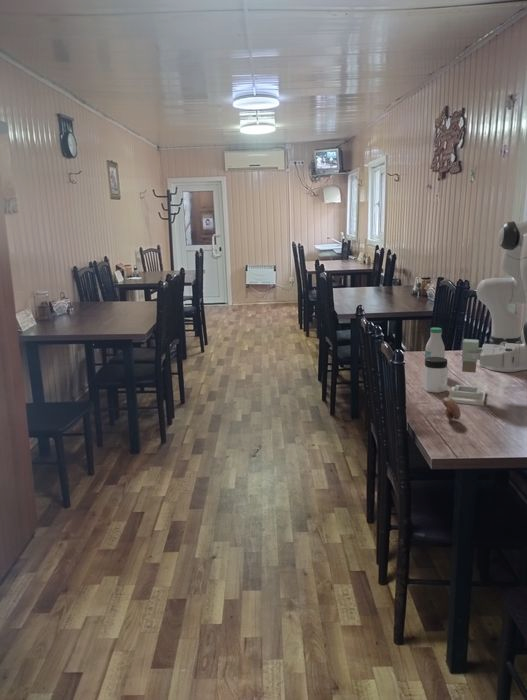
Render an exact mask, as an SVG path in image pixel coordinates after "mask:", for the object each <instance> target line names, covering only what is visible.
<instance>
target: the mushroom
mask: <svg viewBox="0 0 527 700" xmlns="http://www.w3.org/2000/svg"><path fill="white" fill-rule="evenodd" d="M441 402H442V404H443V406H444V407H445V416H446V418H447V419H448V421H449V422H451V421H453V420H459V419H460V418H461V410H460V406H459V405H458V403H456V402H455V401H454V400H453V399H452V398H449V397H448V396H445V397H443V398H442V400H441Z"/></svg>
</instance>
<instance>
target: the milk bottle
mask: <svg viewBox="0 0 527 700" xmlns="http://www.w3.org/2000/svg"><path fill="white" fill-rule="evenodd" d="M429 331H430V333H429V334H430V335H429V336H430V337H429V339H428V341H427V343H426V345H425V349H424V350H425V351H424V352H425V353H424V359H425V358H427V357H442V358H445V354H446V353H445V351H446V349H445V344H444V342H443V339H442V334H443V328H441V327H430V330H429Z"/></svg>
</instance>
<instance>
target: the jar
mask: <svg viewBox="0 0 527 700" xmlns="http://www.w3.org/2000/svg"><path fill="white" fill-rule="evenodd" d="M422 371H423V372H422V375H423V376H422V389H423V390H424V391H426V392H427V393H436V394H440V393H443V392H447V390H448V389H447V388H448V372H449V367H448V358H446V357H444V358H442V357H427V358H425V357H424V365H423V370H422Z"/></svg>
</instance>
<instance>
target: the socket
mask: <svg viewBox="0 0 527 700" xmlns="http://www.w3.org/2000/svg"><path fill="white" fill-rule="evenodd" d="M486 392H487V389H482V386H481V387H480V386H474V385H473V386H471V385H462V384H461V385H460V384H455V386H451V389H450V390H449V393H448V396H447V397H449V398H452V399H453V400H454V401H455V402H456V404H463V405H464V404H465V405H474V406H484V404H485V399H486V394H487V393H486Z"/></svg>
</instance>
